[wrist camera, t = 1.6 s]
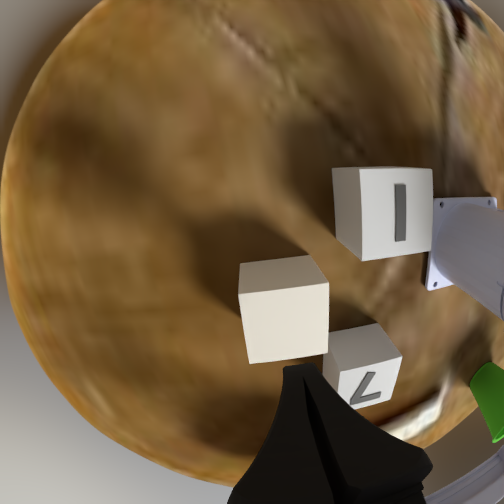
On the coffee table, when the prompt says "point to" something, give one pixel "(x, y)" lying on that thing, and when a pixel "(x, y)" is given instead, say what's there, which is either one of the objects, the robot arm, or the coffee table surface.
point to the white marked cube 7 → (361, 365)
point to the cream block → (284, 308)
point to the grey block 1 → (383, 210)
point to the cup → (490, 397)
